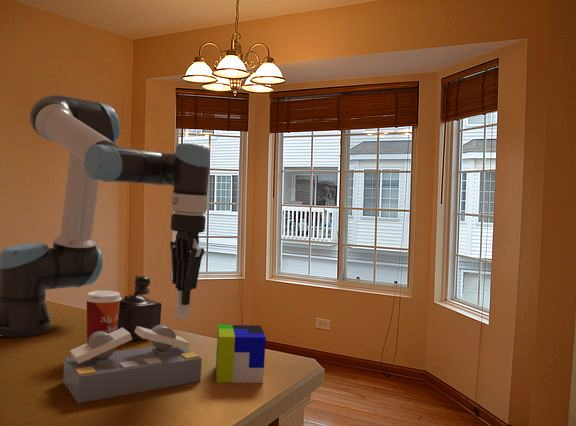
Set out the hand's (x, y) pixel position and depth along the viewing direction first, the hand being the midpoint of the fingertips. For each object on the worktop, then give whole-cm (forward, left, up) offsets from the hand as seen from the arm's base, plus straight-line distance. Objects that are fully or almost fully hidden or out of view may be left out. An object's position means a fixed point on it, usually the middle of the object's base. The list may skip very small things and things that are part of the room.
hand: (181, 317), depth 113 cm
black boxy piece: (-29, +1, -12) cm, 32 cm away
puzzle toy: (+8, +11, -12) cm, 18 cm away
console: (+2, -11, -12) cm, 16 cm away
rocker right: (0, -5, -6) cm, 8 cm away
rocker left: (0, -17, -6) cm, 18 cm away
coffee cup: (-18, -12, -12) cm, 25 cm away
